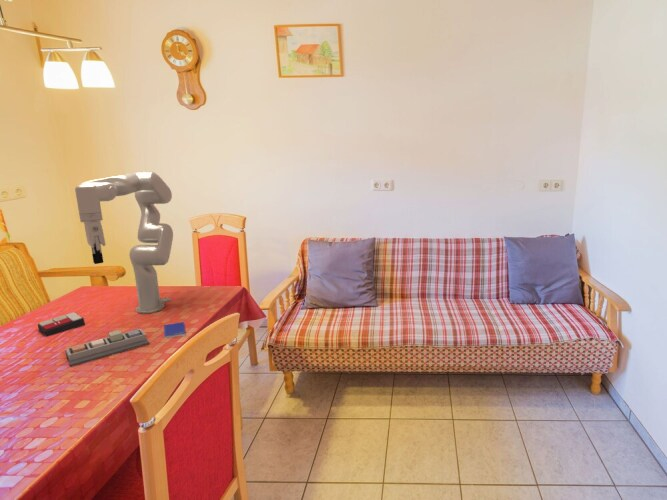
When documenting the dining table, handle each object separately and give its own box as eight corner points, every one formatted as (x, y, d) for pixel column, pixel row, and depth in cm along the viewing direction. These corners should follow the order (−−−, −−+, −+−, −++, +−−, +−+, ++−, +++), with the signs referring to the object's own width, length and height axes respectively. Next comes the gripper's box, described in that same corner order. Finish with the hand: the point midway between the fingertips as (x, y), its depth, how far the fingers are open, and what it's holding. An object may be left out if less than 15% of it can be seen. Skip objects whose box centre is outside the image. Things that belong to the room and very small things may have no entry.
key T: (138, 335, 175) (137, 329, 175) (140, 338, 172) (140, 332, 172) (127, 337, 173) (126, 332, 172) (130, 341, 170) (129, 335, 169)
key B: (84, 349, 164) (83, 343, 163) (86, 353, 161) (85, 347, 160) (72, 352, 162) (71, 346, 161) (74, 356, 158) (72, 350, 158)
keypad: (140, 332, 181) (139, 325, 180) (149, 344, 170) (148, 337, 169) (65, 352, 165) (64, 345, 164) (70, 366, 154) (69, 359, 153)
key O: (103, 344, 168) (102, 338, 167) (105, 348, 165) (104, 342, 164) (91, 347, 165) (90, 341, 165) (93, 351, 162) (92, 345, 162)
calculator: (36, 322, 185) (74, 310, 196) (39, 331, 186) (76, 319, 197) (44, 329, 178) (83, 316, 188) (47, 338, 179) (85, 325, 190)
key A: (120, 335, 171) (119, 329, 171) (122, 338, 168) (121, 333, 168) (109, 338, 169) (108, 332, 168) (111, 341, 166) (110, 336, 165)
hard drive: (185, 332, 177) (184, 321, 188) (164, 336, 174) (164, 324, 185) (185, 336, 177) (184, 325, 189) (164, 339, 175) (164, 328, 186)
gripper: (106, 218, 161) (113, 265, 165) (98, 213, 172) (105, 257, 177) (83, 220, 156) (91, 269, 161) (76, 215, 168) (84, 261, 172)
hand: (98, 262), depth 169 cm, fingers closed
